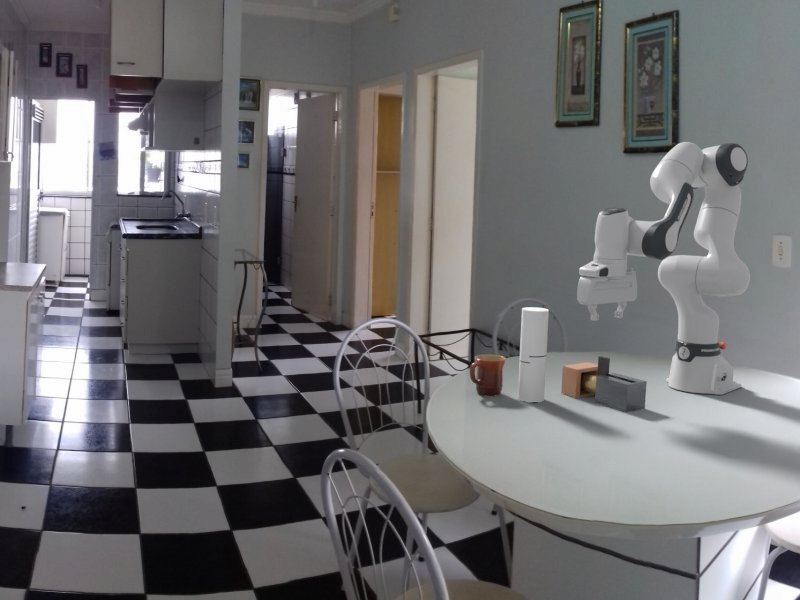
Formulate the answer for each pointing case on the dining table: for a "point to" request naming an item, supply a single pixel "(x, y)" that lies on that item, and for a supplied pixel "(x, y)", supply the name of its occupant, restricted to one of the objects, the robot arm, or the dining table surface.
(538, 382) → the cylindrical container
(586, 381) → the tube
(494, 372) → the mug
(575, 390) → the peach pocketed block
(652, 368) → the dining table surface
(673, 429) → the dining table surface
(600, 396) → the sleeve
